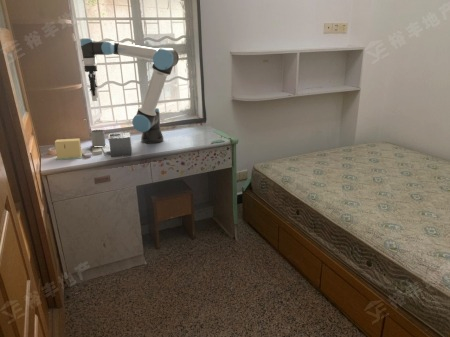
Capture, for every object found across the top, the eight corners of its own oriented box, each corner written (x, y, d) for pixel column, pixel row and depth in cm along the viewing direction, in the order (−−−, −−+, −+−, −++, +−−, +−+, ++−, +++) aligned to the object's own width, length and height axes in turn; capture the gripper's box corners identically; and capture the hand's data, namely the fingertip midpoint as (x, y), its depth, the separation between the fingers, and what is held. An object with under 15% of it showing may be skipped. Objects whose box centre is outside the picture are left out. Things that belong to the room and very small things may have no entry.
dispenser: (131, 149, 227) (130, 132, 223) (131, 155, 216) (129, 137, 212) (111, 151, 224) (109, 133, 220) (110, 157, 213) (107, 138, 209)
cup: (91, 148, 230) (89, 133, 227) (93, 144, 238) (91, 129, 234) (105, 147, 232) (103, 132, 228) (106, 143, 239) (104, 129, 236)
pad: (83, 153, 219) (83, 153, 219) (81, 158, 211) (81, 157, 211) (58, 155, 216) (58, 154, 216) (55, 160, 208) (55, 159, 207)
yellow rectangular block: (81, 154, 217) (79, 138, 213) (80, 156, 212) (78, 140, 209) (59, 155, 214) (56, 139, 210) (57, 158, 209) (54, 142, 206)
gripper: (85, 64, 231) (90, 96, 238) (82, 66, 208) (87, 102, 216) (97, 63, 233) (101, 96, 240) (95, 66, 210) (100, 101, 218)
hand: (95, 99), depth 228 cm, fingers open, 13 cm apart
